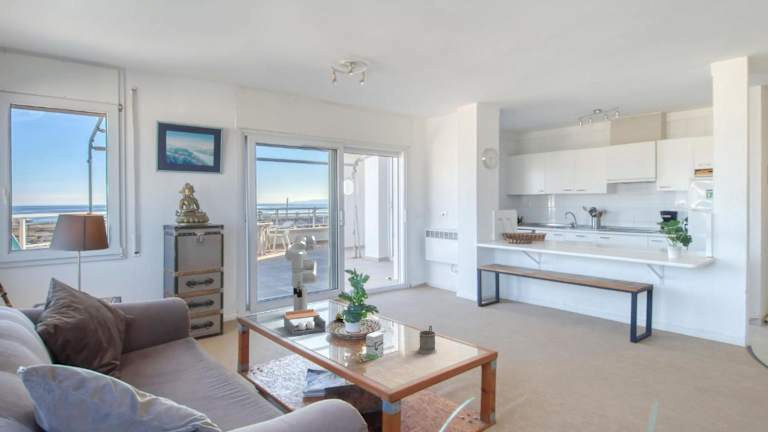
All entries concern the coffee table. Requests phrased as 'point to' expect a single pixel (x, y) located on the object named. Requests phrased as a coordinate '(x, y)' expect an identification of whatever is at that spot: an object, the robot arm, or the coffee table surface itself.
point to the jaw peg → (302, 326)
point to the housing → (311, 328)
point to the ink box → (374, 345)
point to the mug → (427, 342)
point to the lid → (301, 314)
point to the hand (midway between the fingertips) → (297, 295)
